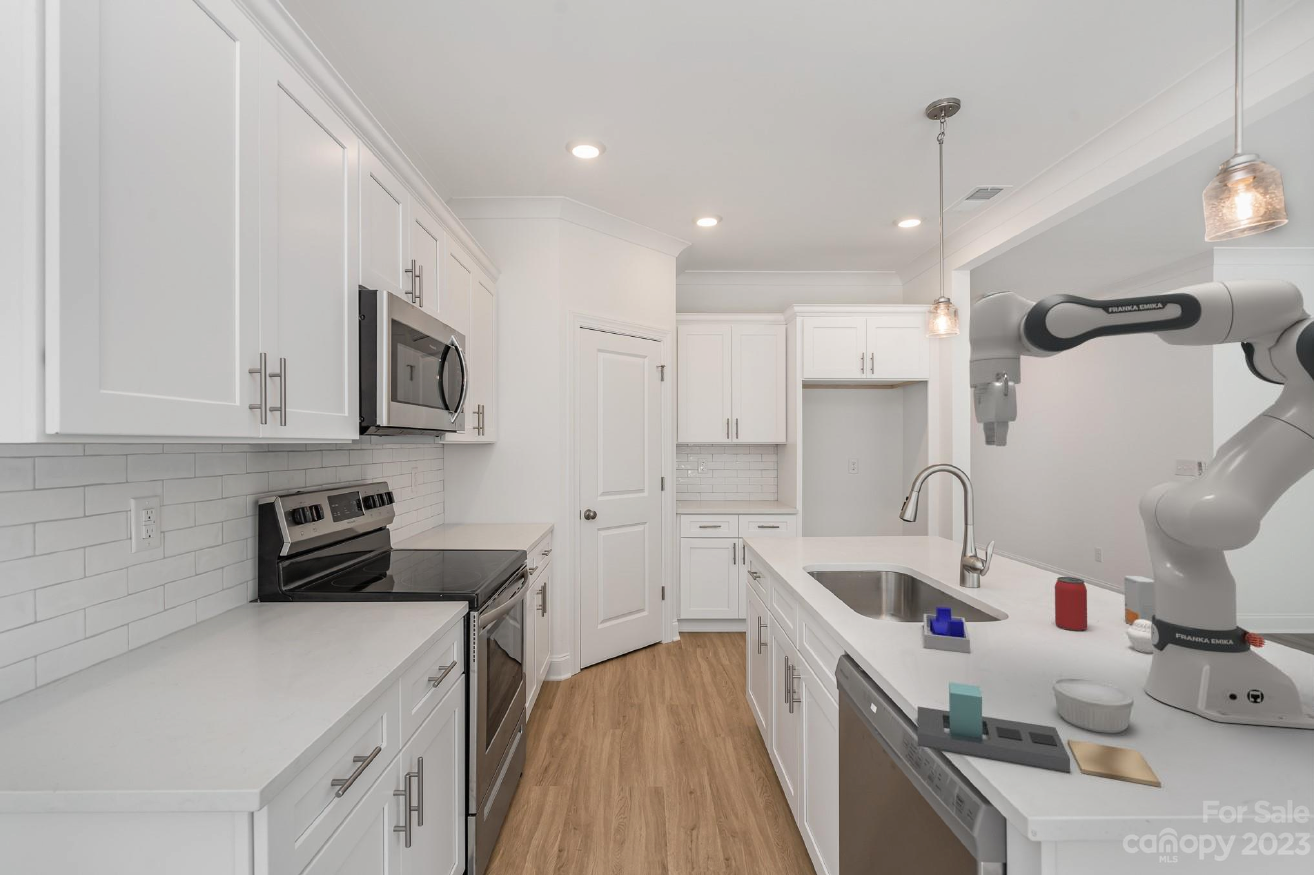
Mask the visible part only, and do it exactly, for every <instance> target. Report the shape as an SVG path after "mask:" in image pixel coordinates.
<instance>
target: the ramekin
mask: <svg viewBox="0 0 1314 875" xmlns="http://www.w3.org/2000/svg"><path fill="white" fill-rule="evenodd" d="M1051 687H1052V691H1053V692H1054V697H1055V699H1054V700H1055V703H1056V709H1057V712H1058V713H1059V715H1060V717H1063V718H1062V719H1064V721H1066V722H1067V721H1068V722H1067V723H1069V724H1071V725H1073V726H1075V727H1078V728H1081V729H1084V730H1086V731H1087V730H1088V731H1091V732H1096V733H1104V734H1116V733H1117V734H1119V733H1121V732H1123V731H1125V730H1126V729H1127V728H1128V726H1129V724H1130V719H1131V714H1132V713H1131V712H1132V707H1134V704H1135V702H1134V696H1132V694H1130V693H1129V692H1128V691H1126V690H1125V689H1122V688H1121V687H1119V686H1116V685H1113V684H1109V683H1106V682H1103V681H1098V680H1094V679H1088V678H1082V677H1081V678H1080V677H1062V678H1057V679H1055V680H1054V681H1052V686H1051Z"/></svg>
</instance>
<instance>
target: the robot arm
mask: <svg viewBox="0 0 1314 875" xmlns="http://www.w3.org/2000/svg"><path fill="white" fill-rule="evenodd" d="M968 325H969V326H968V332H969V333H968V337H969V338H968V341H969V345H970V349H971V354H970V357H969V365H968V366H969V367H968V368H969V387H970V389H973V393H972V394H973V395H972V396H973V405H974V413H975V419H976V422H977V424H982V429H983V430H982V431H983V434H984V444H985V445H986V446H995V447H1006V446H1007V437H1008V432H1009V429H1010V428H1009V425H1010V424H1009V423H1010V422H1015V421H1016V420H1017V415H1018V407H1017V406H1018V405H1017V390H1016V385H1019V384H1021V380H1022V379H1021V376H1022V375H1021V356H1025V357H1032V358H1033V357H1034V358H1040V359H1041V358H1042V359H1044V358H1051V357H1054V356H1057V355H1059V354H1061V353H1064V352H1065V351H1069V350H1071V349H1074V348H1077V347H1078V346H1081V345H1082V344H1084V343H1087V342H1088V341H1090V340H1093V339H1096V338H1097V339H1098V338H1103V337H1105V338H1106V337H1115V336H1127V335H1139V334H1153V335H1157V336H1158V337H1159V338H1160V339H1161V340H1162V341H1164V342H1165V343H1167V344H1168V345H1173V346H1186V347H1187V346H1190V347H1191V346H1194V347H1195V346H1196V347H1197V346H1212V345H1215V346H1216V345H1223V344H1232V343H1233V344H1235V343H1240V346H1241V349H1242V351H1243V353H1244V359H1245V363H1246V366H1247V368H1248V370H1249V371H1250V372H1251V374H1252V375H1254V377H1256V378H1257V379H1259V380H1260V381H1263V382H1266V383H1270V384H1274V385H1280V386H1283V388H1282V391H1281V393H1280V395H1279V396H1278V398H1277V399H1276V400H1275V401H1274V403H1273V404H1272V405H1270V406H1269V407H1267V408H1266V409H1264V410H1263V411H1262V412H1261V413H1259V414H1258V415H1257V416H1256V417H1255V418H1253V419H1252V420H1251V421H1249V422H1248V423H1247V424H1246V425H1245V426H1244V427H1242V428H1241V429H1240V430H1238V431H1237V432H1236V433H1235V434H1233V435H1232V436H1231V437H1230V438H1228V440H1226V441H1225V442H1223V444H1221V445H1220V446H1219V447H1218V448H1217V450H1216V452H1215V455H1214V458H1213V459H1212V460H1211V462H1210V463H1209V464H1208V465H1207V466H1206V468H1205V469H1204V470H1203V471H1202V473H1200V475H1199V476H1198V477H1197V478H1195V479H1194V480H1192V481H1190V482H1186V481H1181V480H1180V481H1179V480H1178V481H1167V482H1163V483H1160V484H1157V485H1153V486H1152V487H1150V488H1149V489H1147V490H1146V491H1145V492H1144V493H1143V494H1142V496H1141V498H1140V500H1139V504H1138V511H1139V514H1140V517H1141V518H1142V521H1143V523H1144V530H1145V536H1146V541H1147V542H1146V543H1147V546H1148V550H1149V556H1150V560H1151V564H1152V571H1153V581H1154V598H1155V614H1154V615H1152V624H1151V640H1152V645H1153V646H1154V650H1153V653H1152V659H1151V664H1150V670H1149V673H1148V677H1147V680H1146V683H1145V685H1144V688H1143V689H1144V691H1145V692H1146V693H1147V694H1148V695H1149V696H1151V697H1152V698H1154V699H1156V700H1157V701H1159V702H1162V703H1164V704H1167V705H1170V706H1172V707H1176V708H1178V709H1181V710H1184V711H1188V712H1191V713H1194V714H1196V715H1198V716H1201V717H1203V718H1206V719H1209V720H1211V721H1215V722H1219V723H1227V724H1228V723H1231V724H1243V725H1245V724H1246V725H1258V726H1271V727H1282V728H1283V727H1284V728H1298V729H1299V728H1300V729H1311V730H1314V710H1313V709H1312V708H1310V707H1309V706H1307V705H1305V703H1303V702H1302V701H1301V700H1302V699H1301V696H1300V694H1299V690H1298V687H1297V685H1296V683H1294V681H1293V680H1292V678H1291V677H1290V676H1288V674H1286V673H1285V672H1284V671H1283V670H1281V669H1279V668H1278V667H1277V666H1275V665H1274V664H1273V663H1271V662H1270V661H1268V659H1265V658H1264V657H1263V656H1261V655H1260V654H1258V653H1257V652H1256V651H1255V650H1252V649H1251V646H1253V647H1254V648H1257V649H1258V648H1263V647H1264V646H1265V645H1266V640H1265V639H1264V638H1263V636H1261V635H1259V634H1257V633H1255V632H1250V631H1248V630H1246V629H1244V628H1242V627H1241V626H1238V625H1237V624H1238V623H1237V622H1238V621H1237V583H1236V580H1235V578H1234V576H1233V574H1232V573H1231V571H1230V567H1229V565H1228V562H1227V559H1226V556H1225V553H1224V552H1225V551H1226V552H1227V551H1235V550H1239V549H1242V548H1244V547H1245V546H1248V545H1249V544H1251V543H1252V542H1253V541H1254V540H1256V539H1255V538H1256V537H1257V536H1258V534H1259V533H1260V529H1261V521H1262V520H1263V519H1264V518H1265V517H1266V515H1267V514H1268V512H1269V511H1270V510H1271V508H1273V506H1274V504H1276V502H1277V501H1278V500H1279V499H1280V498H1281V497H1282V496H1283V494H1285V493H1286V492H1287V491H1288V490H1289V489H1290V488H1291V487H1292V486H1293V485H1295V484H1296V483H1297V482H1299V481H1300V480H1301V479H1302V478H1304V477H1305V476H1307V475H1308V474H1309V473H1310V472H1312V471H1313V470H1314V317H1312V315H1311V314H1309V313H1307V311H1306V310H1305V308H1304V297H1303V294H1302V292H1301V290H1300V289H1299V288H1298V286H1297V285H1295V284H1294V283H1292V282H1291V281H1288V280H1284V279H1273V278H1267V279H1266V278H1263V279H1262V278H1248V279H1246V278H1245V279H1244V278H1243V279H1230V280H1222V281H1221V280H1220V281H1219V280H1218V281H1212V282H1204V283H1199V284H1193V285H1188V286H1184V287H1183V286H1182V287H1180V288H1176V289H1173V290H1169V291H1165V292H1163V293H1159V294H1155V295H1154V294H1153V295H1145V296H1137V297H1127V298H1126V297H1125V298H1114V299H1103V300H1102V299H1090V298H1086V297H1082V296H1077V295H1074V294H1069V293H1067V294H1066V293H1059V294H1058V293H1057V294H1053V295H1049V296H1046V297H1044V298H1042V299H1040V300H1039V301H1038V302H1034V301H1032V300H1028V299H1027V298H1024V297H1022V296H1020V295H1018V294H1017V293H1016V292H1014V291H1010V290H1009V291H1000V292H995V293H992V294H988V295H985V296H983V297H981V298H980V299H979V300H977V301H976V302H975V303H974V304H973V306H972V307H971V310H970V316H969V324H968Z"/></svg>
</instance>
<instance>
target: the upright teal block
mask: <svg viewBox="0 0 1314 875" xmlns="http://www.w3.org/2000/svg"><path fill="white" fill-rule="evenodd" d="M948 694H949V695H948V701H949V702H948V704H949V705H948V709H949V710H948V711H949V722H950V728H949V733H951V734H957V735H963V736H970V737H976V738H982V739H984V738H983V737H984V736H983V733H982V716H983V696H982V692H981V688H980V686H979V685H974V684H973V685H972V684H965V683H958V682H950V681H949V682H948Z"/></svg>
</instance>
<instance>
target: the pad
mask: <svg viewBox="0 0 1314 875" xmlns="http://www.w3.org/2000/svg"><path fill="white" fill-rule="evenodd" d="M1066 742H1067V746H1068V747H1069V749H1070V752H1071V753H1072V756H1073V758H1074V760H1075V762H1076V764H1077V766H1078V768H1079V770H1080V772H1081V774H1085V775H1091V776H1095V777H1101V778H1102V777H1103V778H1108V779H1114V780H1119V781H1124V782H1130V783H1134V784H1135V783H1137V784H1142V785H1147V786H1152V787H1153V786H1154V787H1159V788H1161V787H1162V784H1161V781H1160V780H1159V778H1158V777H1157V775H1156V773H1155V772H1154V771H1153V769H1152V767H1150V765H1149V764H1148V762H1147V760H1146V759H1145V758H1144V756H1143V754H1141V752H1140V751H1139V750H1137V749H1130V748H1124V747H1118V746H1110V745H1105V744H1100V743H1099V744H1098V743H1093V742H1084V741H1080V740H1074V739H1073V740H1072V739H1067V741H1066Z"/></svg>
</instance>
